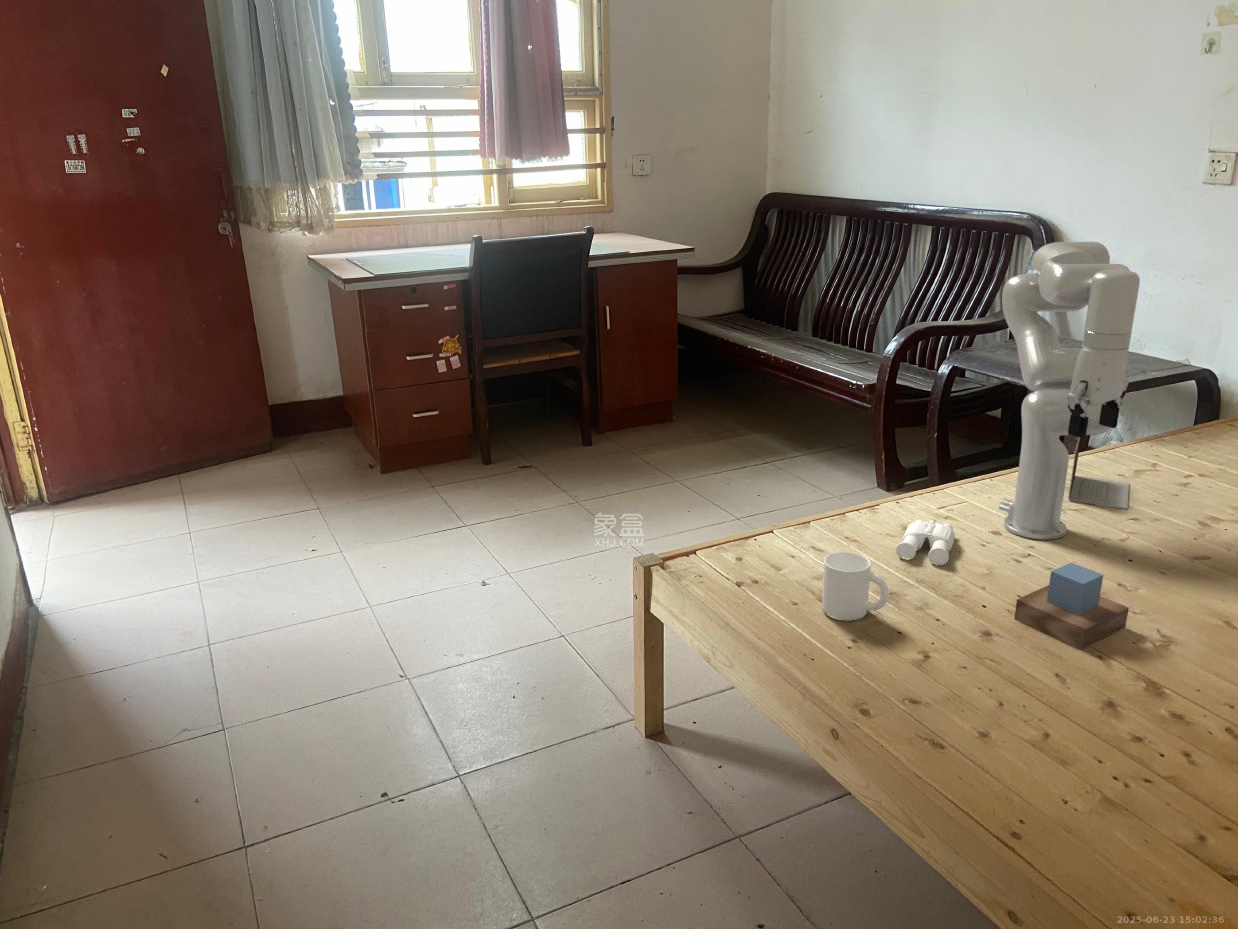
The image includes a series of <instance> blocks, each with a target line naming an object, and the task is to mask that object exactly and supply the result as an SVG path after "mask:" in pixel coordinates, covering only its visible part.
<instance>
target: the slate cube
mask: <svg viewBox="0 0 1238 929" xmlns="http://www.w3.org/2000/svg"><path fill="white" fill-rule="evenodd" d="M1103 579H1104V574H1102V573H1101V572H1097V571H1094V570H1092V569H1089V568H1087V567H1084V566H1081V565H1079V564H1077V563H1074V562H1069V563H1067V564H1065V565H1062V566H1060V567H1058V568H1055V569H1053V570H1051V571H1050V576H1049V583H1048V585H1049V589H1048V596H1047V602H1049V603H1051V604H1054V605H1056V606H1058V607H1061V608H1063V609H1065V610H1068V611H1070V612H1072V613H1075V614H1077V615H1079V614H1082V613H1084V612H1086V611H1088V610H1090V609H1092V608H1094V607H1096V606H1098V604H1099V598H1100V596H1101V592H1102V585H1103Z"/></svg>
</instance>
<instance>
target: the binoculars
mask: <svg viewBox="0 0 1238 929" xmlns="http://www.w3.org/2000/svg"><path fill="white" fill-rule="evenodd" d="M926 538H928V544H929V549H930V550H929V552H928V553H927V554H928V555H927V557H928V561H929V562H930V563H931V564H933V565H934V564H935V563H936V564H937V565H942V566H944V565H946V564H947V563H948V561H949V559H950V557H949V556H950V554H949V553H950V552H951V550H952V547H953V544H954V541H955V538H956V534H955V531H954V527H953V525H952V524H950V523H946V522H945V523H944V524H942V523H940V522H937V521H935V520H934V519H931V520H926V521H925V520H923V519H920V518H919V519H916V520H915V521H913V522H911V523H910V524H908V526H907V528H906V530H905V532H904V534H903V536H902V538H901V539H902V540H901V542H899V543H898V544H897V546H896V548H895V553H896V555H897V556H898V558H899V557H905V558H910V559H911V560H913V558H914V557H915V556H916V553H917V550H916V549H919V550H921V549H922V547H923V546H924V542H925V541H926ZM937 565H936V566H937Z"/></svg>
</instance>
